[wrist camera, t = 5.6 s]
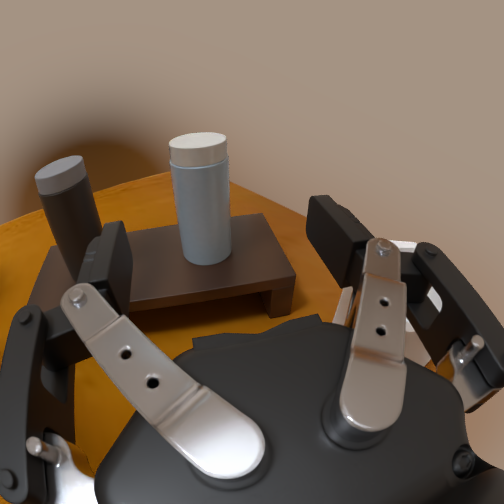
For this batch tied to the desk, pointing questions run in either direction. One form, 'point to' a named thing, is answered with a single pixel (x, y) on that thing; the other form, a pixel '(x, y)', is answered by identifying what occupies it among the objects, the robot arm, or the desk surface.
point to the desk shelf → (189, 270)
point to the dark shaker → (69, 209)
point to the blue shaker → (202, 196)
